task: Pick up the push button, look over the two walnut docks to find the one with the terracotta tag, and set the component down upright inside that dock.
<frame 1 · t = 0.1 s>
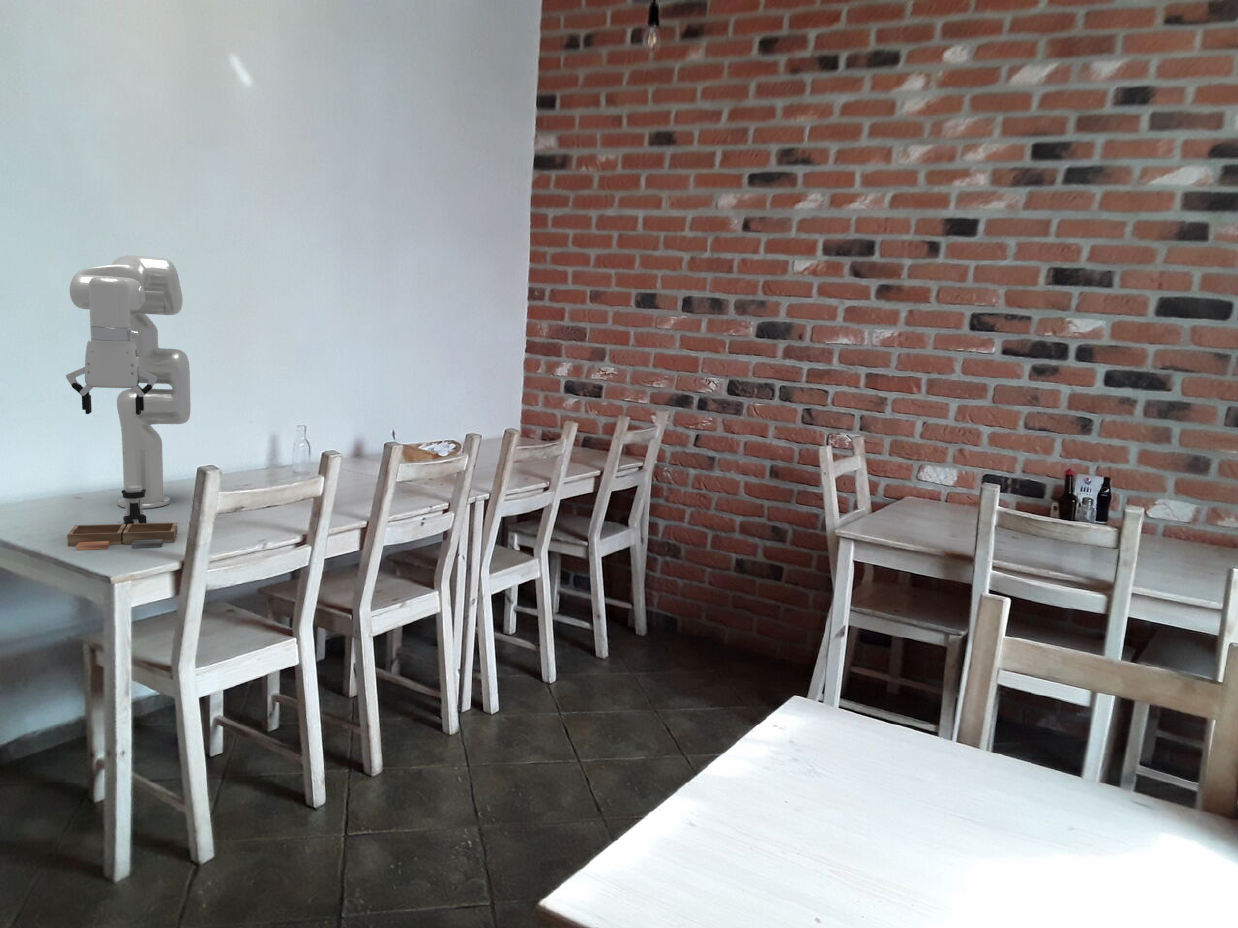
hand: (113, 413, 192), 31 cm above the table, tool pointing down, fingers open, 9 cm apart
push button: (131, 527, 217), on the table
terracotta tag dock: (97, 540, 204), on the table
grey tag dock: (151, 538, 208), on the table
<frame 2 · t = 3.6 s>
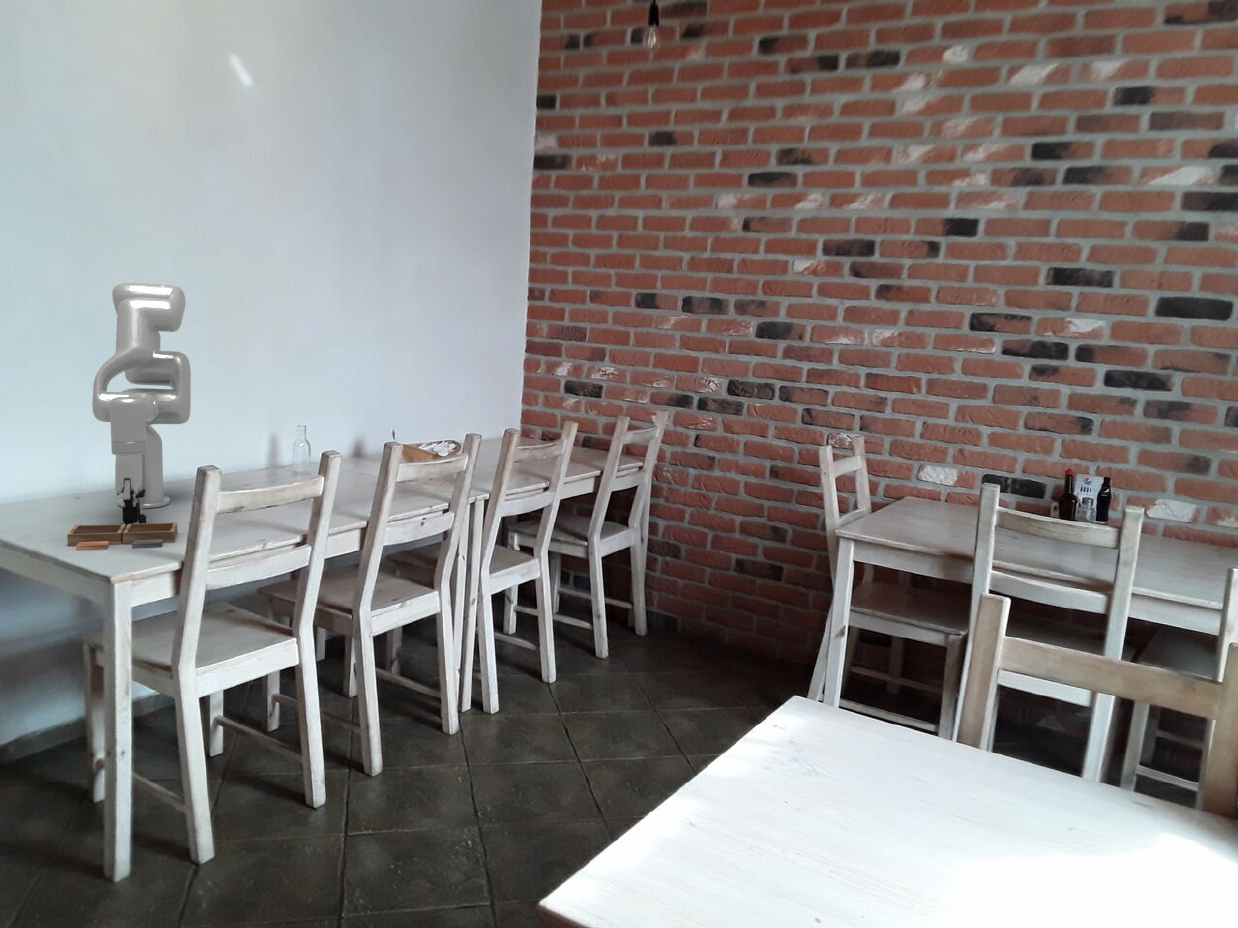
hand: (131, 519, 217), 2 cm above the table, tool pointing down, fingers closed on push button, 3 cm apart
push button: (131, 527, 217), on the table, touching gripper
when the fingers open (4 cm above the table, at t = 10.2 s): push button drops 2 cm, resting on terracotta tag dock.
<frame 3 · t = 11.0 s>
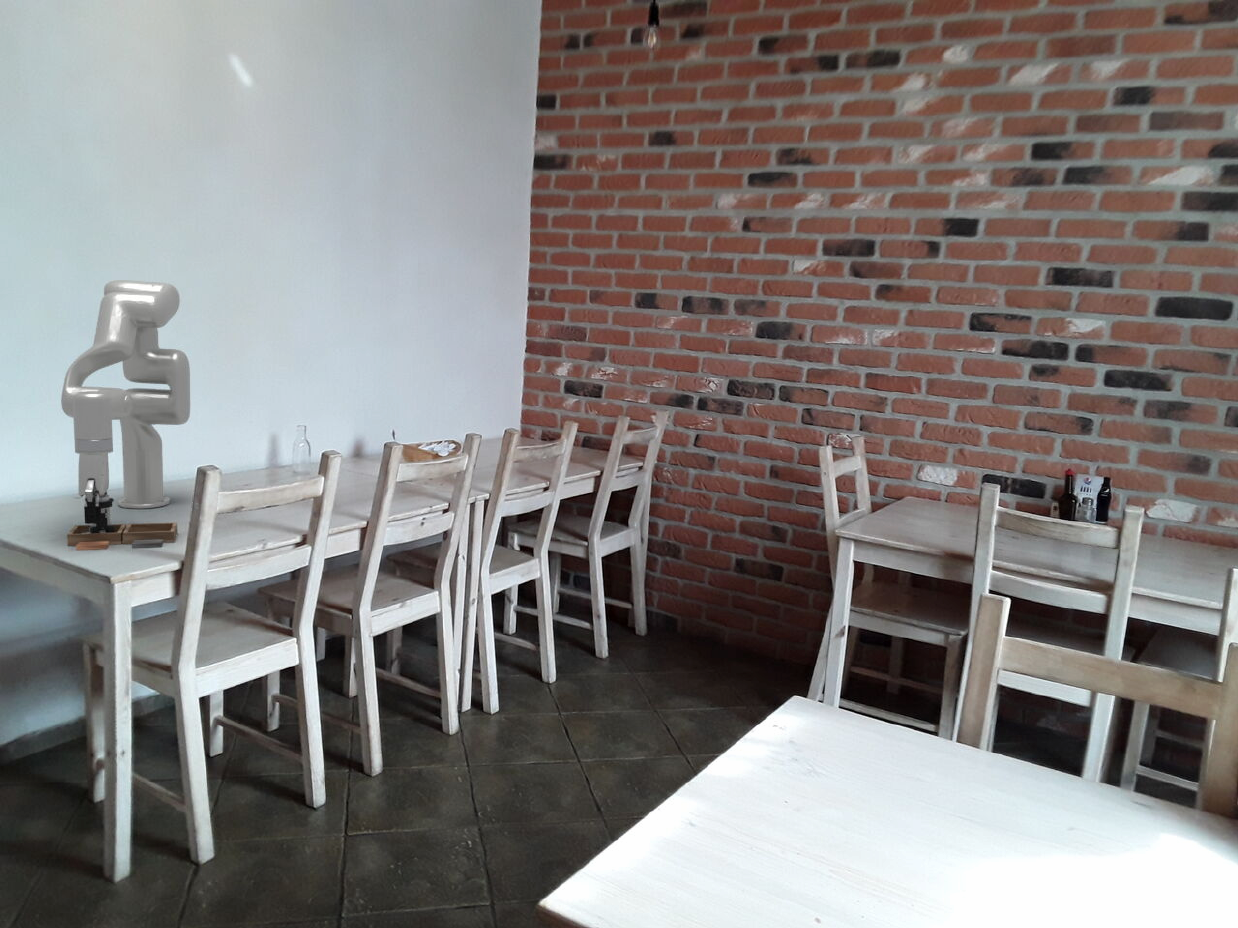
hand: (97, 517, 203), 5 cm above the table, tool pointing down, fingers open, 9 cm apart
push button: (98, 538, 204), resting on terracotta tag dock
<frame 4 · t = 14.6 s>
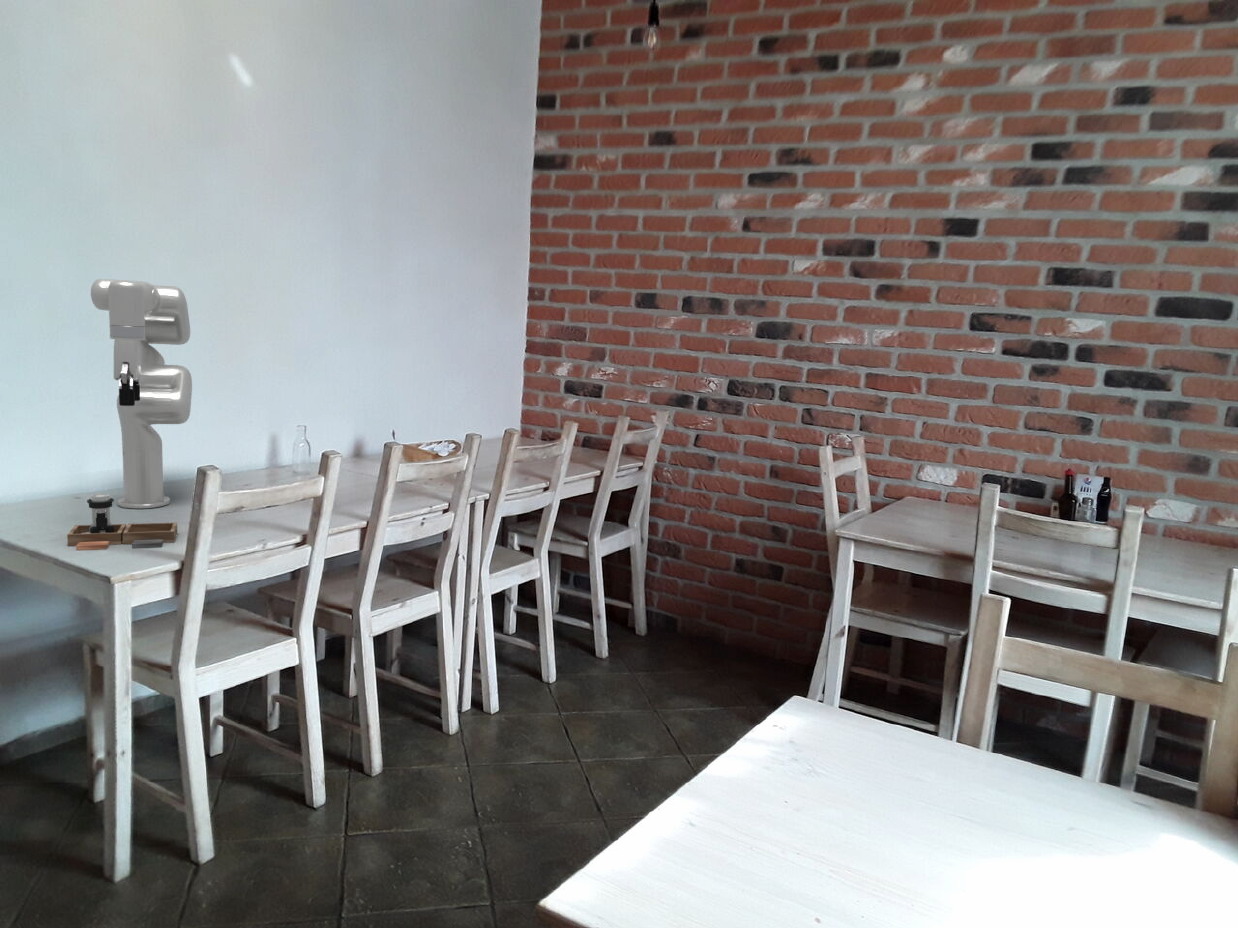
hand: (130, 403, 215), 30 cm above the table, tool pointing down, fingers open, 9 cm apart
nothing on the table moved.
at the end: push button 0.4 cm off-centre on the terracotta tag dock, point 0.4 cm above the terracotta tag dock's base; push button tilted 0°; the gripper is holding nothing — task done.
